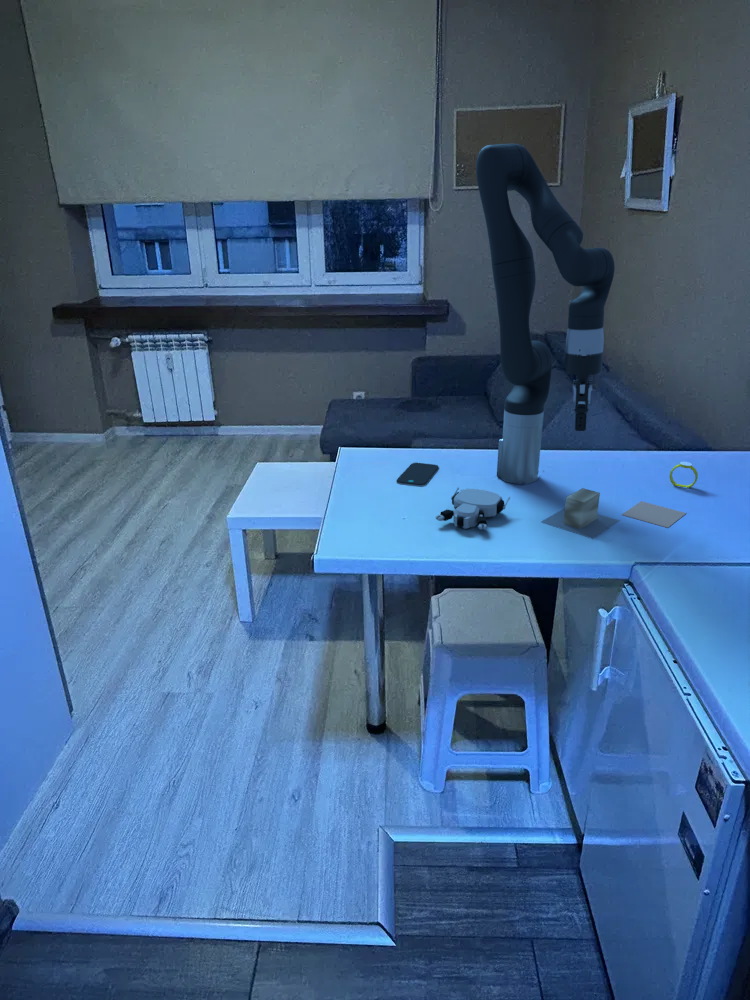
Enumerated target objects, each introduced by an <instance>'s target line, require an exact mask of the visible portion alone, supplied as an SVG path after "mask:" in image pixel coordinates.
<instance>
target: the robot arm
mask: <svg viewBox="0 0 750 1000" xmlns="http://www.w3.org/2000/svg"><path fill="white" fill-rule="evenodd" d="M540 170H541V169H540V168H539V166H538V165H537V163H536V161H535V159H534V158H533V156H532V155H531V153H530V152H529V151H528V149H527V148H526V147H525V146H523V145H522V144H520V143H519V144H518V143H498V144H489V145H488V144H487V145H485V146H484V147H482V148H481V150H479V152H478V155H477V158H476V163H475V176H476V181H477V189H478V192H479V195H480V196H479V197H480V200H481V205H482V209H483V215H484V219H485V225H486V230H487V236H488V242H489V251H490V259H491V260H490V261H491V269H492V270H491V271H492V276H493V278H492V279H493V284H494V285H493V286H494V289H495V290H494V291H495V296H496V305H497V313H498V315H497V316H498V322H499V342H500V343H499V344H500V346H499V349H500V366H501V370H502V373H503V375H504V377H505V379H506V380H507V381H508V382H509V383H510V384H512V385H513V386H512V388H511V390H510V392H509V393H508V395H507V396H506V398H505V400H504V410H503V411H504V412H503V427H502V438H500V439H499V440H498V449H497V463H496V464H497V465H496V477H498V478H500V479H501V480H502V481H505V482H507V483H510V484H516V485H518V484H520V485H521V484H522V485H524V484H525V485H526V484H527V485H528V484H531V483H532V484H533V483H534V482H536V481H538V479H539V478H538V477H539V472H540V471H539V467H540V456H541V446H542V434H543V425H544V412H545V411H544V410H545V404H546V402H547V401H548V397H549V392H550V386H551V379H552V378H551V377H552V371H553V370H552V369H553V358H552V353H551V350H550V349H549V347H548V346H547V344H545V343H544V342H542V341H539V340H532V336H531V330H530V314H531V308H532V303H533V299H534V294H535V290H536V281H537V279H536V268H535V258H534V252H533V249H532V246H531V243H530V242H529V240H528V238H527V237H526V235H525V233H524V232H523V230H522V229H521V226H519V224H518V222H517V221H516V219H515V218H514V215H513V212H512V210H511V205H510V202H509V195H508V191H515V192H516V193H518V194H519V195H520V196H522V198H523V199H524V200H525V201H526V202H527V204H528V206H529V209H530V210H529V211H530V218H531V223H532V227H533V229H534V231H535V233H536V235H537V236H538V237H539V239H540V240H541V241H542V242H543V243H544V245H545V246H546V247H547V249H549V251H550V252H551V253H552V257H553V259H554V262H555V263H556V266H557V269H558V271H559V274H560V275H561V277H562V279H564V280H565V281H566V282H567V283H568V284H569V285H571V286H573V287H582V289H581V292H580V294H579V296H578V297H576V298H575V299H572V300H571V301H570V303H569V306H568V315H567V331H566V332H567V334H566V338H565V339H566V340H565V356H564V357H565V359H564V372H565V373H566V374H568V375H571V376H573V375H575V376H576V377H577V378H576V380H575V379H573V381H572V392H573V398H572V399H573V400H572V402H573V404H574V405H575V406H574V407H575V408H574V413H575V416H574V417H575V419H574V420H575V421H574V423H575V424H574V430H575V431H576V432H585V431H587V429H586V428H587V414H588V413H589V408H588V407H589V405H590V404H591V392H592V391H593V379H589V377H590V376H592V375H593V376H594V375H598V374H600V373H601V372H602V370H603V362H604V361H603V359H604V343H605V341H604V339H605V338H604V337H605V336H604V323H605V322H604V320H605V305H606V303H607V300H608V297H609V294H610V290H611V288H612V287H611V286H612V282H613V279H614V276H615V269H616V268H615V260H614V257H613V254H612V253H611V252H610V250H608V249H607V248H605V247H591V248H590V247H589V248H584V247H582V246H581V244H582V242H583V240H584V233H583V230H582V228H581V227H580V225H579V224H578V223H577V222H576V221H575V220H574V219H573V217H572V216H571V215H570V214H569V213H568V212H567V210H566V209H565V208H564V207H563V206H562V205H561V203H560V202H559V201H558V199H557V197H556V196H555V195H554V193H553V191H552V190H551V188H550V186H549V185H548V183H547V181H546V179H545V177H544V176H543V174H542V172H541V171H540Z"/></svg>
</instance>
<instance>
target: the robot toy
mask: <svg viewBox="0 0 750 1000" xmlns="http://www.w3.org/2000/svg"><path fill="white" fill-rule="evenodd" d="M459 490H460V491H459ZM450 499H451V505H453V510H451V509H444V510H442V511H441V512H440V514H437V515H435V520H437V521H439V522H443V521H444V522H446V521H449V520H452V519H453V523H454V524H453V525H454V527H456V528H457V527H458V528H463V529H469V528H470V527H471V528H474V527H476V525H477V528H478V529H479V530H487V528H488V523H487V518H491V517H492V518H493V517H496V515H499V514H500V513H501V512H502V511H503V510H505V509H506V506H507V505H508V502H509V501H510V499H511V496H510V495H509V496H508V497H507V500H506V502H505V501H504V500H503V497H502V496H500V495H499V494H498V493H496V492H493V491H489V490H485V489H479V488H465V489H460V486H458V487H457V488H456V490H455V492H454V493H453V495H451V497H450ZM471 528H470V529H471Z"/></svg>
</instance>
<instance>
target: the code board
mask: <svg viewBox="0 0 750 1000" xmlns="http://www.w3.org/2000/svg"><path fill="white" fill-rule="evenodd" d="M564 513H565V507H563V508H562V509H560V510H559V511H557V512H555V513H553V514H552V515H550V516H548V517H547V518H545V519H542V521H540V523H542V524H545V525H547V526H552V527H554V528H559V529H561V530H564V531H567V532H570V533H573V534H577V535H579V536H582V537H587V538H590V539H592V540H593V539H595V538H596V537H598V536H599V535H601V534H602V533H604V532H605V531H607V530H608V529H610V528H611V527H613V526H614V525H615V524H617V523H619V522H620V519H617V518H613V517H609V516H606V515H603V514H600V513H597V519H596V520H594V521H592V522H591V523H589V524H588V525H586V526H585V527H583V528H582V529H579V528H576V527H573V526H570V525H566V524H563V523H564Z"/></svg>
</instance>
